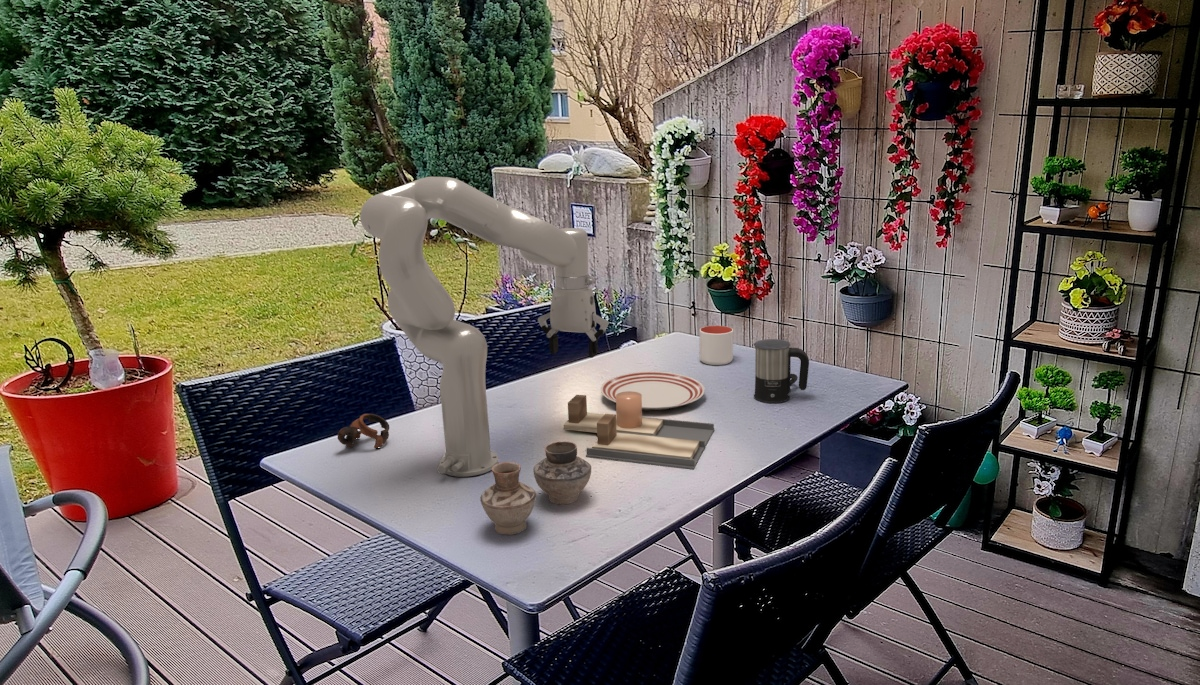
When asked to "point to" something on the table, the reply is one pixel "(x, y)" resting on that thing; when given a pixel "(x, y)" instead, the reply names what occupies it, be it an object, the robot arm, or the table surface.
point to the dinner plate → (655, 388)
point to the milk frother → (777, 370)
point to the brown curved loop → (364, 431)
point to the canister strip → (588, 421)
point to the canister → (629, 409)
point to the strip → (641, 441)
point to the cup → (716, 345)
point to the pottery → (516, 500)
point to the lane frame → (668, 430)
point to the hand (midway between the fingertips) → (573, 354)
